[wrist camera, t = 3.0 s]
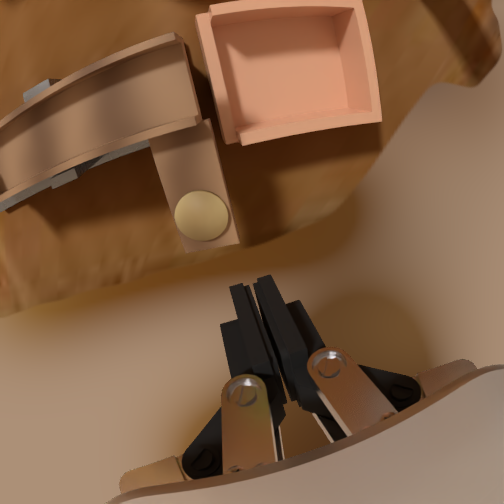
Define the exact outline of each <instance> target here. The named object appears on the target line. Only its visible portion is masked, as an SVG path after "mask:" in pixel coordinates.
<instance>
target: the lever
mask: <svg viewBox="0 0 504 504" xmlns="http://www.w3.org/2000/svg"><path fill="white" fill-rule="evenodd" d="M146 139H148V141H149V144H150V148H151V151H152V154H153V157H154V161H155V164H156V167H157V170H158V173H159V177H160V180H161V183H162V186H163V189H164V192H165V195H166V198H167V201H168V204H169V207H170V210H171V213H172V216H173V219H174V221H175V224H176V227H177V230H178V233H179V236H180V238H181V241H182V244H183V247H184V250H185V252H186V253H190V252H195V251H200V250H205V249H211V248H216V247H221V246H227V245H232V244H237V243H239V232H238V228H237V224H236V220H235V216H234V212H233V208H232V204H231V200H230V196H229V192H228V188H227V184H226V180H225V176H224V172H223V168H222V164H221V160H220V156H219V152H218V148H217V144H216V140H215V136H214V132H213V128H212V124H211V120H210V118H208V119H204V120H202V116H201V112H200V108H199V104H198V100H197V96H196V92H195V88H194V84H193V79H192V75H191V71H190V67H189V63H188V59H187V55H186V50H185V46H184V42H183V38H182V37H180V36H179V35H178V34H176V33H175V32H171V33H168V34H165V35H162V36H159V37H156V38H153V39H150V40H148V41H145V42H142V43H139V44H137V45H134V46H132V47H129V48H127V49H124V50H122V51H119V52H117V53H115V54H112V55H110V56H108V57H106V58H104V59H101V60H99V61H97V62H95V63H93V64H91V65H89V66H87V67H85V68H83V69H81V70H79V71H77V72H75V73H73V74H71V75H70V76H68V77H66V78H64V79H62V80H61V81H59V82H57V83H55V84H54V85H52V86H50V87H49V88H47V89H45V90H44V91H42V92H41V93H39V94H37V95H36V96H34V97H33V98H31V99H30V100H28V101H27V102H25V103H24V104H22V105H21V106H20V107H18V108H17V109H15V110H14V111H13V112H11V113H10V114H8V115H7V116H6V117H4V118H3V119H2V120H1V121H0V202H2V201H3V200H5V199H7V198H9V197H11V196H13V195H15V194H16V193H18V192H20V191H22V190H24V189H26V188H28V187H30V186H32V185H34V184H36V183H38V182H40V181H42V180H44V179H47V178H49V177H51V176H53V175H55V174H57V173H60V172H62V171H64V170H66V169H69V168H71V167H73V166H76V165H78V164H81V163H83V162H85V161H88V160H90V159H93V158H96V157H98V156H101V155H103V154H106V153H109V152H111V151H114V150H117V149H120V148H123V147H125V146H128V145H131V144H134V143H137V142H140V141H143V140H146Z"/></svg>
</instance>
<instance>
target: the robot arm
mask: <svg viewBox="0 0 504 504" xmlns="http://www.w3.org/2000/svg"><path fill="white" fill-rule="evenodd" d="M257 281H258V282H257V283H254V284H253V286H254V290H255V294H256V298H257V301H258V305H259V309H260V313H261V316H260V314H259V311H258V308H257V306H256V303H255V300H254V297H253V295H252V292H251V289H250V287H249V285H247V286H243V283H240V284H237V285H234V286H230V287H229V288H230V292H231V295H232V299H233V302H234V306H235V310H236V314H237V317H238V319H237V320H233V321H230V322H226V323H223V324H220V327H221V332H222V337H223V342H224V347H225V351H226V356H227V360H228V365H229V369H230V374H231V379H230V380H229V381H228V382H227V383H226V384H225V386H224V388H223V389H222V394H221V407H220V409H219V410H218V411H217V412H216V414H215V415H214V416H213V417H212V419H211V420H210V421H209V422H208V424H207V425H206V426H205V427H204V429H203V430H202V431H201V433H200V434H199V435H198V436H197V437H196V439H195V440H194V441H193V442H192V444H191V445H190V446H189V447H188V448H187V449H186V451H185V453H184V454H183V455H180V456H177V457H175V456H171V457H169V458H166V459H163V460H161V461H157V462H154V463H151V464H148V465H146V466H142V467H139V468H136V469H133V470H130V471H128V472H126V473H124V475H123V476H122V477H121V479H120V482H119V486H120V491H121V494H120V495H118V496H116V497H114V498H112V499H111V500H109V501H108V502H106V503H105V504H504V365H491V366H486V367H483V368H480V369H477V368H476V366H475V365H474V364H473V363H472V362H471V361H469V360H465V359H460V360H456V361H453V362H450V363H448V364H445V365H442V366H439V367H436V368H433V369H430V370H426V371H423V372H420V373H417V375H416V376H414V377H409V376H406V375H401V374H397V373H393V372H388V371H384V370H379V369H375V368H371V367H366V366H362V365H358V364H356V363H355V362H354V360H353V359H352V358H351V357H350V356H349V355H348V354H347V353H346V352H345V351H344V350H342V349H340V348H336V347H326V346H325V344H324V343H323V341H322V339H321V337H320V335H319V334H318V332H317V330H316V328H315V327H314V325H313V323H312V321H311V319H310V318H309V316H308V314H307V312H306V310H305V309H304V307H303V305H302V303H301V302H300V301H299V300H297V301H294V302H291V303H288V304H285V302H284V300H283V298H282V297H281V294H280V292H279V290H278V288H277V286H276V284H275V282H274V280H273V278H272V276H271V275H267V276H264V277H261V278H257ZM261 317H262V319H261ZM262 321H263V322H262ZM278 367H279V368H278ZM279 370H280V372H279ZM280 373H281V375H282V378H283V381H284V383H285V386H286V389H287V391H288V394H289V396H290V399H291V401H295V400H297V402H298V405H299V407H301V406H302V409H303V410H306V411H309V412H312V413H313V416H314V417H315V419H316V420H317V422H318V424H319V425H320V426H321V428H322V430H323V431H324V433H325V434H326V436H327V437H328V439H329V440H330V442H331V444H328V445H326V446H323V447H320V448H317V449H315V450H312V451H309V452H306V453H303V454H300V455H297V456H294V457H291V458H288V459H284V453H283V446H282V439H281V432H280V427H279V425H280V423H281V422H282V420H283V419H284V417H285V416H286V414H285V411H284V407H283V404H286V403H287V400H286V396H285V392H284V388H283V384H282V380H281V376H280Z"/></svg>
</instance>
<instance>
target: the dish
mask: <svg viewBox="0 0 504 504" xmlns="http://www.w3.org/2000/svg"><path fill="white" fill-rule="evenodd" d="M195 25H196V30H197V34H198V38H199V42H200V46H201V51H202V55H203V59H204V63H205V68H206V72H207V76H208V80H209V84H210V89H211V93H212V97H213V101H214V105H215V110H216V114H217V118H218V122H219V126H220V131H221V135H222V139H223V141H224V142H225V143H226V145H227V144H231V143H235V142H239V143H240V144H241V145H242V146H244V145H249V144H253V143H257V142H262V141H266V140H271V139H276V138H280V137H285V136H290V135H296V134H301V133H306V132H312V131H318V130H324V129H330V128H336V127H343V126H350V125H358V124H366V123H374V122H382V115H381V105H380V96H379V88H378V81H377V74H376V67H375V61H374V55H373V49H372V44H371V39H370V34H369V29H368V24H367V20H366V16H365V11H364V7H363V3H362V0H240V1H232V2H226V3H219V4H214V5H210V7H209V10H208V13H203V14H198V15H196V17H195Z"/></svg>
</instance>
